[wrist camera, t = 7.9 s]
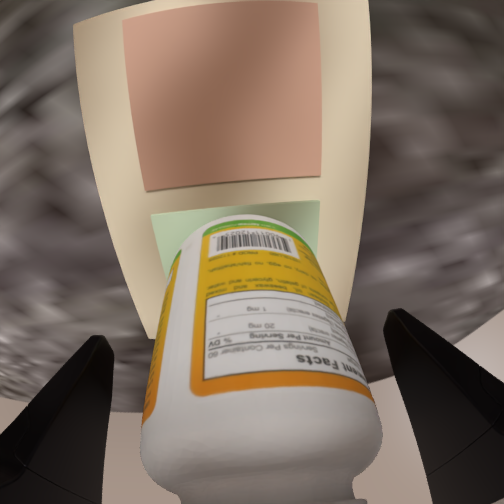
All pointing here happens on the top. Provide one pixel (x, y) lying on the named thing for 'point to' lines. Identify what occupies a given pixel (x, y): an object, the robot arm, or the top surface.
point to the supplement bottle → (254, 375)
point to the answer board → (227, 127)
